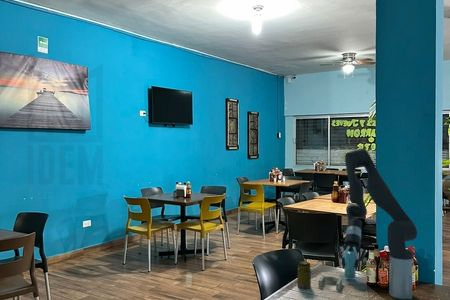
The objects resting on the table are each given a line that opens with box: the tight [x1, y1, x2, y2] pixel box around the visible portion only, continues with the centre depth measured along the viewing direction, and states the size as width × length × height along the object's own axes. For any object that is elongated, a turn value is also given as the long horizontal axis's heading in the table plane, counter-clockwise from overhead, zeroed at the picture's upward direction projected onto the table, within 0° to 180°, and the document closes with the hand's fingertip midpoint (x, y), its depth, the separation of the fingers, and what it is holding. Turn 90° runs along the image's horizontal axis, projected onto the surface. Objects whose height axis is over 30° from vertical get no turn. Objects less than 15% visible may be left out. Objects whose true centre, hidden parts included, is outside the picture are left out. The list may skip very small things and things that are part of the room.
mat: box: [338, 274, 364, 286], centre depth 196 cm, size 11×11×1 cm
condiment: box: [297, 260, 312, 290], centre depth 185 cm, size 7×8×12 cm
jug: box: [343, 251, 357, 278], centre depth 195 cm, size 5×7×12 cm
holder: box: [317, 274, 344, 292], centre depth 187 cm, size 10×10×4 cm
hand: (349, 266), depth 194 cm, fingers closed on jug, 5 cm apart
